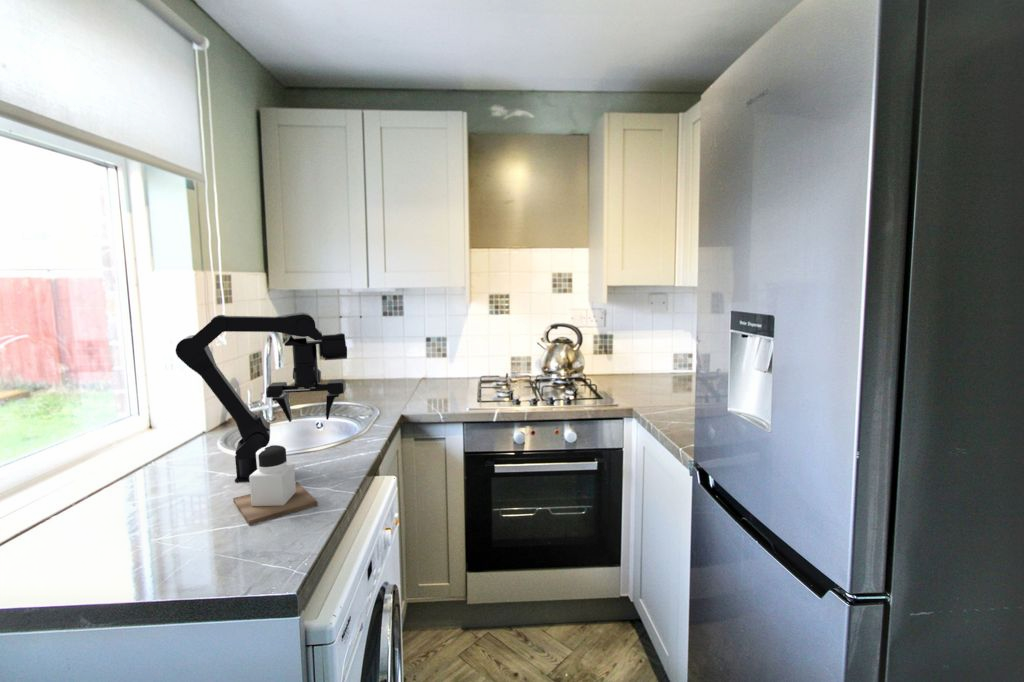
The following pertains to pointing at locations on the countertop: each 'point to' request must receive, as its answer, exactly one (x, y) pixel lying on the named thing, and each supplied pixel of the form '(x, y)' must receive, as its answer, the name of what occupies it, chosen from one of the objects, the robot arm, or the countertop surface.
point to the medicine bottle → (272, 478)
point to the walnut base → (264, 513)
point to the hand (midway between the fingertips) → (309, 420)
